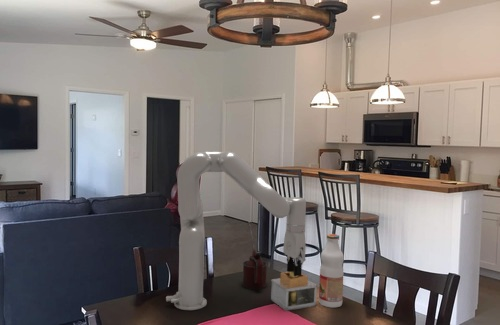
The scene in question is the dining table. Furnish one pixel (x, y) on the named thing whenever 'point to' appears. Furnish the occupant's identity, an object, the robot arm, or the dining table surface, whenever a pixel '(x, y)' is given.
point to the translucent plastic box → (286, 283)
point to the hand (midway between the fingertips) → (294, 272)
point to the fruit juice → (331, 273)
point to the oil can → (254, 269)
